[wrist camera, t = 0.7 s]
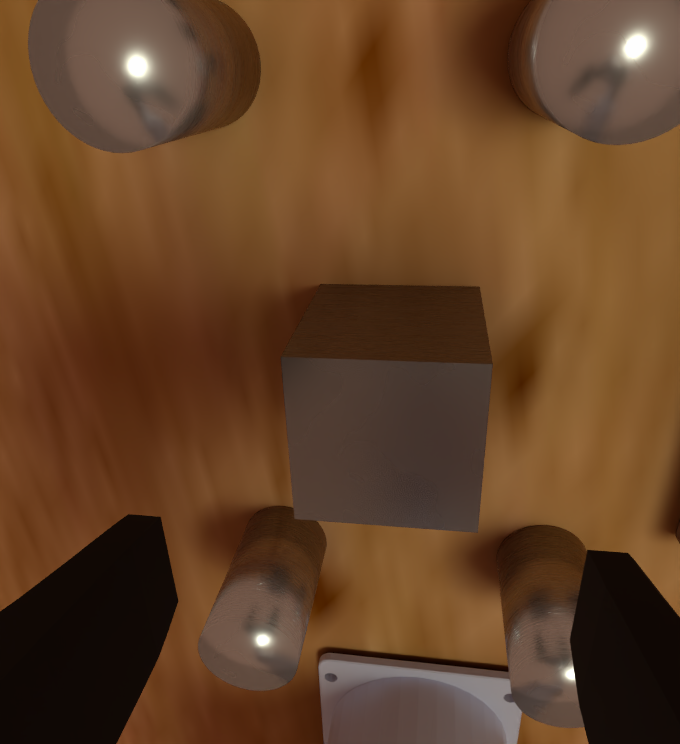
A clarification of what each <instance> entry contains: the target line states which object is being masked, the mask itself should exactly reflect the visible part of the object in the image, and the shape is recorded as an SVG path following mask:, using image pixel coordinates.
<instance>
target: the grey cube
mask: <svg viewBox="0 0 680 744" xmlns="http://www.w3.org/2000/svg"><path fill="white" fill-rule="evenodd" d="M281 366H282V377H283V389H284V401H285V413H286V424H287V436H288V448H289V459H290V471H291V483H292V495H293V506H294V518H295V519H302V520H315V521H328V522H342V523H355V524H369V525H382V526H396V527H409V528H423V529H436V530H449V531H463V532H476V533H478V524H479V512H480V501H481V490H482V479H483V467H484V456H485V445H486V433H487V422H488V411H489V399H490V388H491V377H492V366H493V363H492V358H491V352H490V346H489V340H488V334H487V328H486V322H485V316H484V310H483V304H482V298H481V292H480V287H465V286H403V285H342V284H321V285H320V286H319V288H318V290H317V292H316V294H315V295H314V297H313V299H312V301H311V303H310V305H309V306H308V308H307V310H306V312H305V314H304V316H303V317H302V319H301V321H300V323H299V325H298V326H297V328H296V330H295V332H294V334H293V336H292V337H291V339H290V341H289V343H288V345H287V346H286V348H285V350H284V352H283V354H282V356H281Z"/></svg>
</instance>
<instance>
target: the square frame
mask: <svg viewBox="0 0 680 744" xmlns="http://www.w3.org/2000/svg"><path fill="white" fill-rule="evenodd" d="M676 537H677V539H678V541H679V543H680V522H679V525H678V529H677V533H676Z"/></svg>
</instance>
